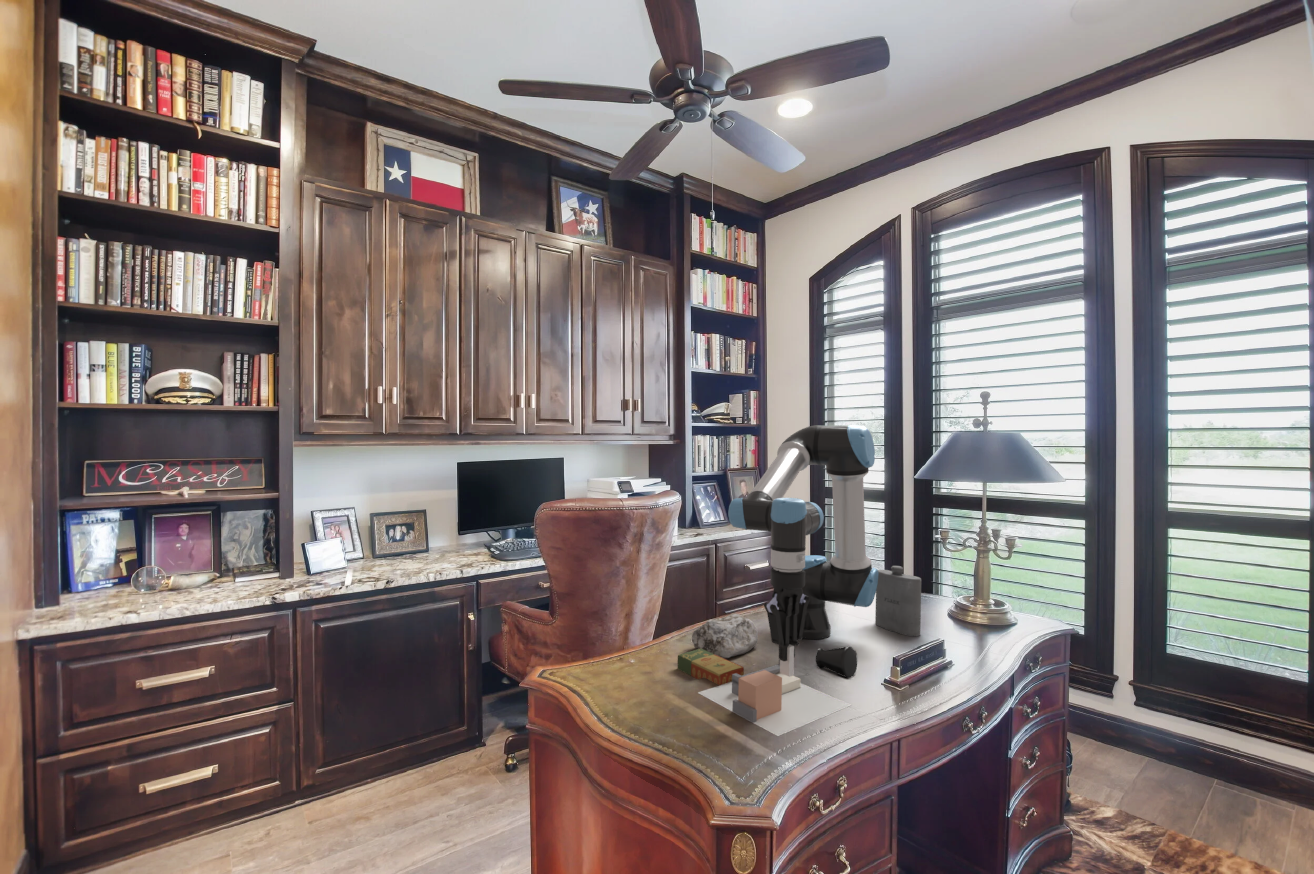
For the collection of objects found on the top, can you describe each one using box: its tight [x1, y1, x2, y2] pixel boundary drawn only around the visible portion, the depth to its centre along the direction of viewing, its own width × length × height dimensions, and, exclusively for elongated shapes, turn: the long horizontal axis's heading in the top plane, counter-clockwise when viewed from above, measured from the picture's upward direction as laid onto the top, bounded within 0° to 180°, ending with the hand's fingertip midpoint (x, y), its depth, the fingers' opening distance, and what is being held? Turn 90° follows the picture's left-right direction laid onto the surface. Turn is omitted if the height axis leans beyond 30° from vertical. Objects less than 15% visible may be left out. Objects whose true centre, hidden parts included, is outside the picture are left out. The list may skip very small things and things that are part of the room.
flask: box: [874, 565, 922, 637], centre depth 187 cm, size 15×6×20 cm, turn 34°
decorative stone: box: [691, 612, 759, 659], centre depth 167 cm, size 20×14×10 cm
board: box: [697, 659, 852, 737], centre depth 132 cm, size 24×24×5 cm
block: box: [738, 670, 782, 719], centre depth 126 cm, size 5×8×7 cm, turn 127°
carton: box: [676, 648, 745, 686], centre depth 148 cm, size 8×16×4 cm, turn 37°
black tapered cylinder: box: [815, 645, 858, 679], centre depth 156 cm, size 8×18×8 cm
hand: (786, 673), depth 132 cm, fingers closed
